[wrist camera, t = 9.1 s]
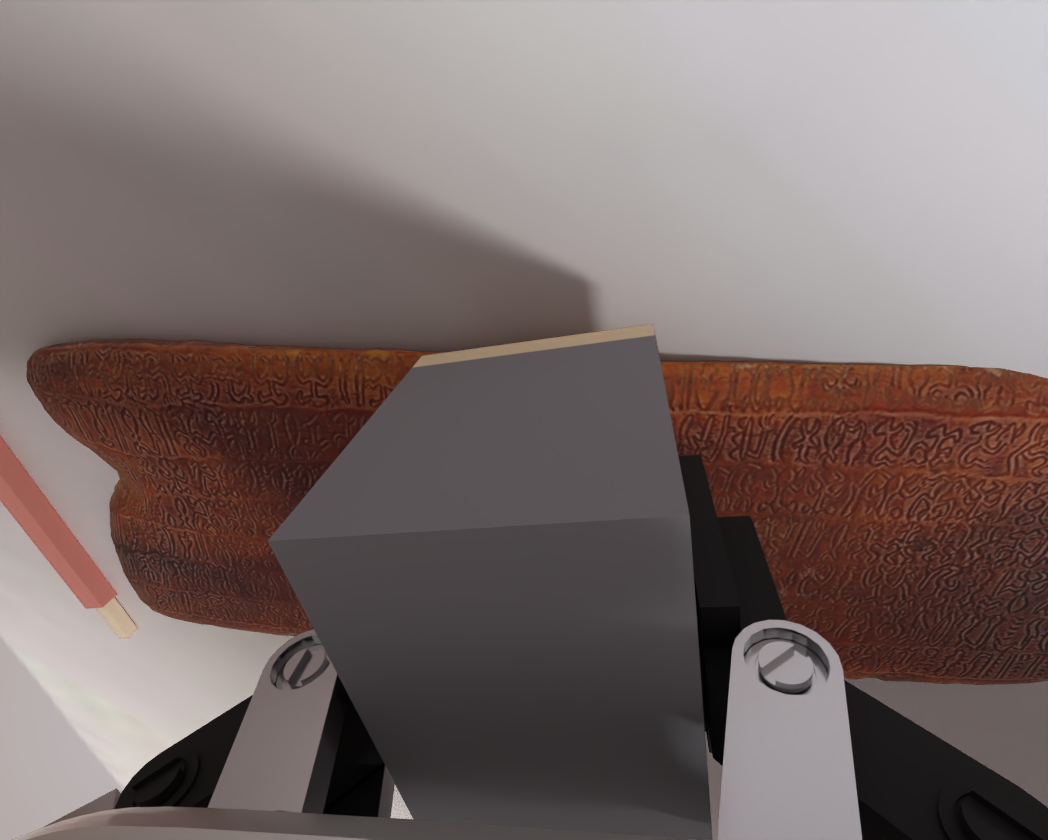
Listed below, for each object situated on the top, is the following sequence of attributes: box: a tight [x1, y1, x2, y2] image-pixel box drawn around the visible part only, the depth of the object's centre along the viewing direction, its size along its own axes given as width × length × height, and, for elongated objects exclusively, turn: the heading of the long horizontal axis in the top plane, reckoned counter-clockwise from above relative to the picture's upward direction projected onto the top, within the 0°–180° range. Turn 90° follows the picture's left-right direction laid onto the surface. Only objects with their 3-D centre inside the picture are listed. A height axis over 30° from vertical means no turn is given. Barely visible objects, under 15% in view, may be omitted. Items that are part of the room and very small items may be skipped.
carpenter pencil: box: [0, 436, 138, 638], centre depth 16 cm, size 1×12×1 cm, turn 12°
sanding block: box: [268, 324, 712, 840], centre depth 10 cm, size 4×8×6 cm, turn 11°
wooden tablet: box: [27, 339, 1048, 685], centre depth 14 cm, size 27×10×2 cm, turn 91°
